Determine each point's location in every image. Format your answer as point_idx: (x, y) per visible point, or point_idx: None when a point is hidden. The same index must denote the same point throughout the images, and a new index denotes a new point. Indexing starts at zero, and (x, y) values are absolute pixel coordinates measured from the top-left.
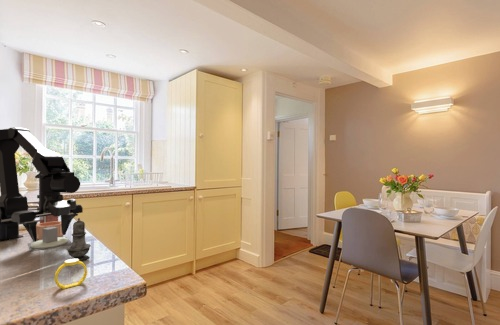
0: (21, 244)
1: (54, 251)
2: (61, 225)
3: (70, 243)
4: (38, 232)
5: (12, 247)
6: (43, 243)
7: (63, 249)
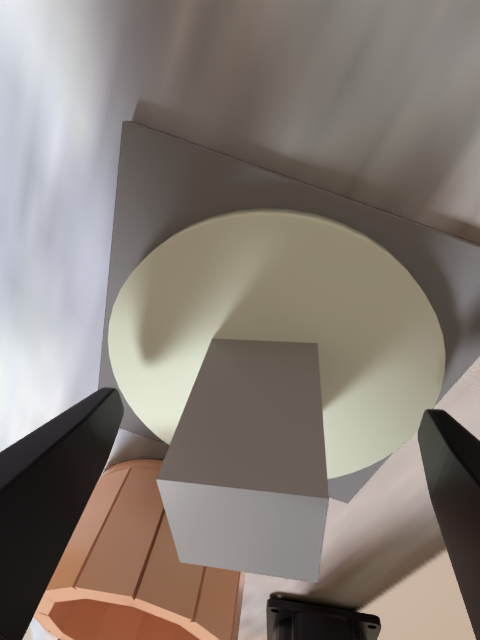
0: (357, 524)
1: (407, 27)
2: (71, 534)
3: (136, 172)
4: (240, 581)
5: (430, 518)
6: (340, 369)
7: (289, 7)
